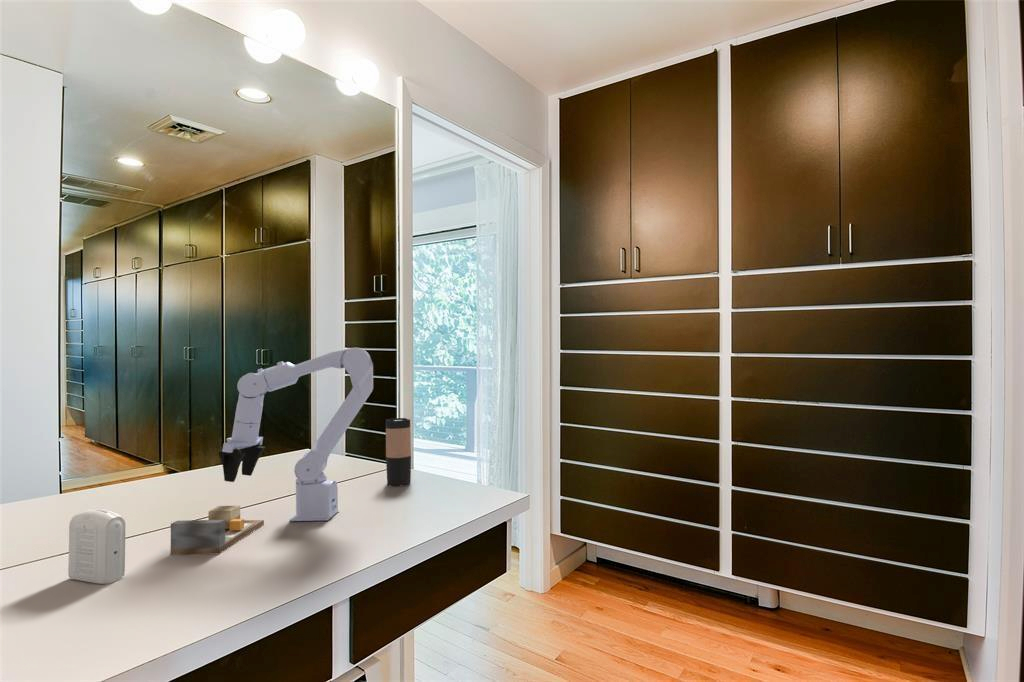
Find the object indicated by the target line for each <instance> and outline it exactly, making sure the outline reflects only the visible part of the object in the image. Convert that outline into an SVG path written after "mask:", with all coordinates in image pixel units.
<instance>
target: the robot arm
mask: <svg viewBox="0 0 1024 682" xmlns="http://www.w3.org/2000/svg"><path fill="white" fill-rule="evenodd" d="M328 368H335V369H345V371H346V373H348V375H349V379H350V381H351V385H352V388H351V391H350V392H349V393H348V394H347V397H345V399H344V401H343V402H342V403H341V405H340V406H339V408H338V410H337V411H336V412H335V414H334V415H333V417H332V418H331V419H330V421H329V423H328V424H327V425H326V427H325V428H324V430H323V431H322V433H321V434H320V435H319V437H318V439H317V440H316V442H315V444H314V445H313V446H312V447H311V449H309V451H308V452H306V453H305V454H304V455H303V457H302V458H300V459H299V460H298V461H296V464H295V465H294V469H293V471H294V475H295V477H296V479H295V515H293V516H292V517H290V518H289V519H288V521H289V522H307V521H309V522H310V521H311V522H315V521H316V522H317V521H328V520H330V519H331V518H333V516H335V515H337V513H338V512H340V510H339V507H338V506H339V504H338V503H339V502H338V498H339V497H338V494H339V493H338V490H339V489H338V483H337V481H336V480H330V479H327V478H328V477H327V475H326V474H325V473H324V471H325V470H326V467H327V464H328V459H329V457H330V455H331V454H332V452H333V450H334V449H335V447H336V446H337V444H338V443H339V441H341V438H342V437H343V436H344V434H345V433H346V431H347V430H348V428H349V427H350V425H351V424H352V422H353V421H354V419H355V417H356V416H357V415H358V413H359V412H360V410H361V409H362V407H363V406H364V404H365V402H366V401H367V399H368V398H369V397H370V395H371V393H373V390H374V363H373V361H372V358H371V355H370V354H369V352H367V350H365V349H364V348H363V349H362V348H360V347H351V348H349V349H341V350H337V351H332V352H329V353H328V352H327V353H325V354H323V355H319V356H317V357H314V358H311V359H309V360H308V359H307V360H305V361H303V362H300V363H297V364H293V363H291V362H290V361H286V362H284V361H283V360H282V361H279V362H277V363H276V365H274V366H271V367H267V368H262V367H261V368H258V369H257V372H256V373H254V372H247V374H244V375H242V376H241V377H240V378H239V379H238V380H237V381H238V382H237V385H236V386H237V391H238V398H237V399H238V400H237V403H236V409H235V413H234V414H235V415H234V421H233V427H232V433H231V437H228V438H226V442H224V443H223V445H222V449H218V453H217V454H218V456H219V458H220V463H221V464H222V470H223V471H222V472H223V479H224V480H223V481H224V482H229V483H234V482H235V481H236V479H237V476H238V472H239V469H240V465H241V475H243V476H250V477H251V476H252V475H253V473H254V470H255V468H256V465H257V462H258V461H259V459H260V457H261V455H262V454H263V453H264V452H265V450H266V446H262V445H263V440H264V436H259V434H260V433H259V432H260V427H261V422H262V421H261V420H262V415H263V414H262V413H263V407H264V398H265V394H266V393H267V392H269V393H270V392H273V391H276V390H279V389H280V390H281V389H282V388H283V389H284V388H286V387H288V386H292V385H295V384H297V382H298V380H299V378H300V377H302V376H305V375H309V374H311V373H312V374H313V373H315V372H319V371H322V370H326V369H328ZM239 450H240V451H239Z"/></svg>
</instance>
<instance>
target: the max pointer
mask: <svg viewBox="0 0 1024 682" xmlns="http://www.w3.org/2000/svg"><path fill="white" fill-rule="evenodd" d="M244 520H245V518H240V519H233V520H231V521H230V530H242V529H243V528H244Z"/></svg>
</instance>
